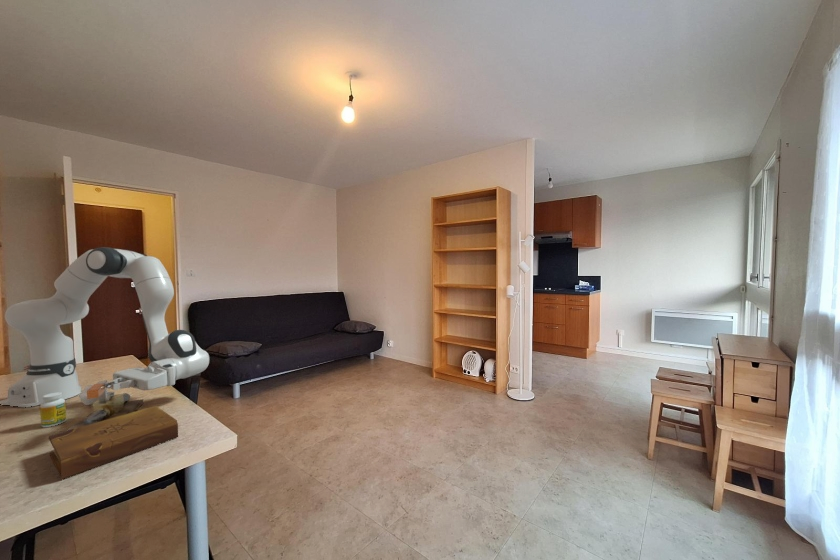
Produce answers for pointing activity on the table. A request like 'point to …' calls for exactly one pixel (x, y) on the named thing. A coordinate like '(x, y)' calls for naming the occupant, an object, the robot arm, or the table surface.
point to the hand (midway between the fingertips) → (109, 386)
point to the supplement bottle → (52, 410)
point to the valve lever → (100, 392)
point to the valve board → (128, 408)
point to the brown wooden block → (110, 440)
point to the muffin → (84, 396)
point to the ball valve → (107, 408)
